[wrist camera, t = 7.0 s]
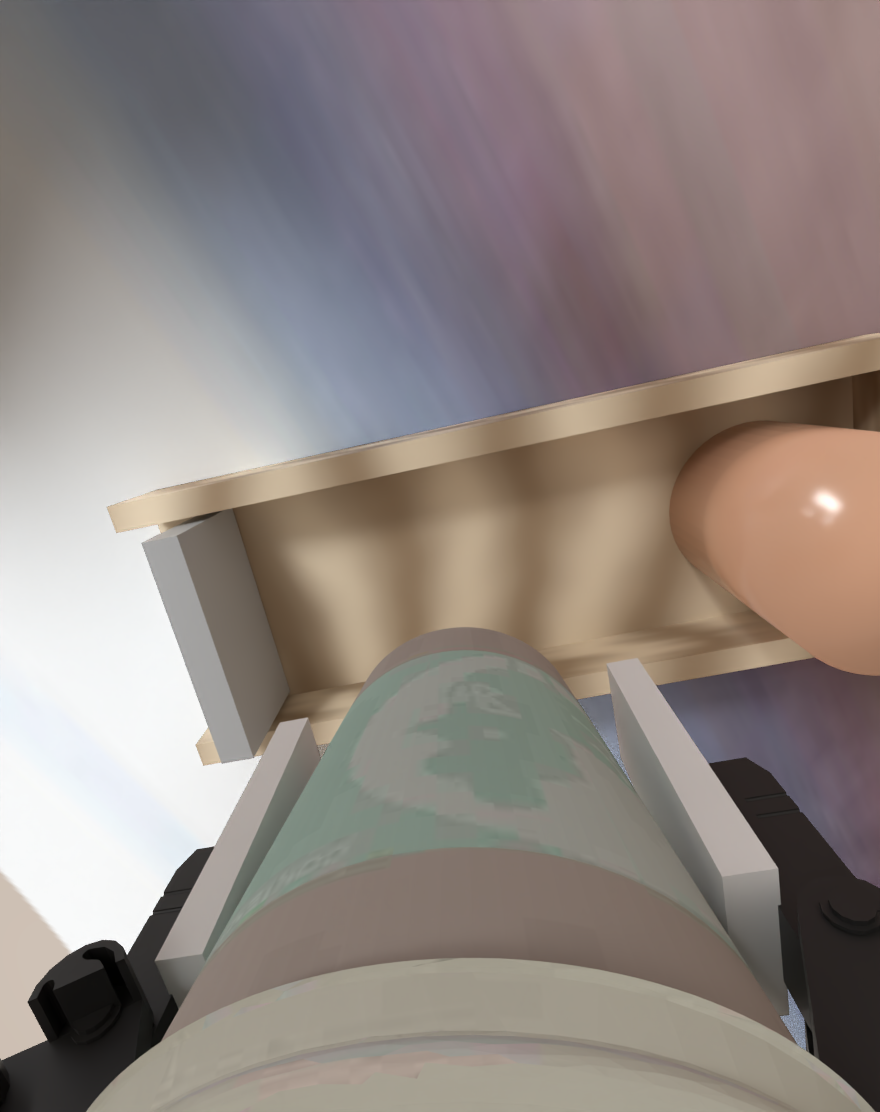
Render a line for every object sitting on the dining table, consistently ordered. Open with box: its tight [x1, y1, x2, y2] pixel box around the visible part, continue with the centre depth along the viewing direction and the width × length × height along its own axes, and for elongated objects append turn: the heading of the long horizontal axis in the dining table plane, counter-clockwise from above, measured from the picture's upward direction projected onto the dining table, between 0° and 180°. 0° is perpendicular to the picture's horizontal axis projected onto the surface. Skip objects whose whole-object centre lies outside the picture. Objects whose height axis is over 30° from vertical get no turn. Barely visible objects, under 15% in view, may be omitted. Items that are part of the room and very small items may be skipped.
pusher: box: [142, 508, 290, 763], centre depth 28 cm, size 4×10×6 cm, turn 12°
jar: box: [669, 420, 880, 676], centre depth 24 cm, size 8×8×10 cm
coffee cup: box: [86, 627, 875, 1112], centre depth 10 cm, size 8×8×12 cm
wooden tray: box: [107, 333, 880, 766], centre depth 28 cm, size 35×13×6 cm, turn 102°
